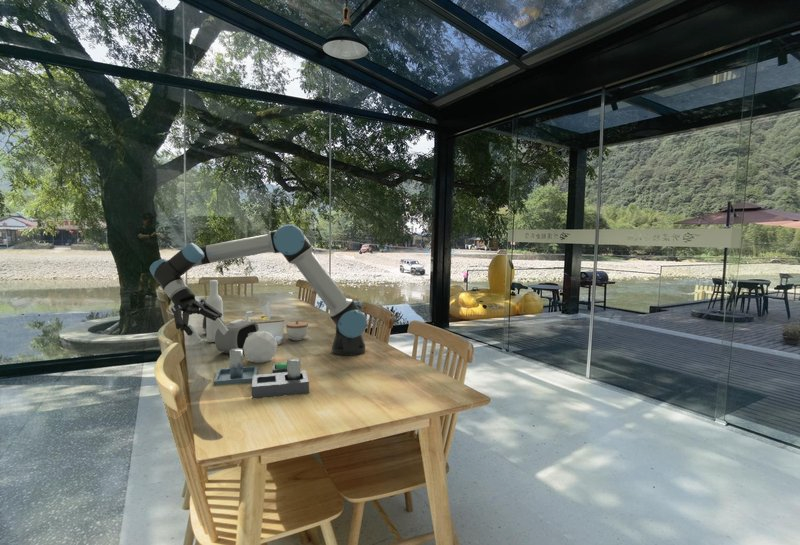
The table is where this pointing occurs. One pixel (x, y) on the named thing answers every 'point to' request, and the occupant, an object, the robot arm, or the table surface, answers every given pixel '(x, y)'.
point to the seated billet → (293, 369)
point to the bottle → (217, 304)
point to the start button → (281, 365)
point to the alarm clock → (234, 335)
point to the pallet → (278, 385)
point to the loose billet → (236, 363)
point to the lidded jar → (297, 330)
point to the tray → (224, 378)
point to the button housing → (277, 369)
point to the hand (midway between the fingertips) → (212, 336)
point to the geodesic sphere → (260, 346)
